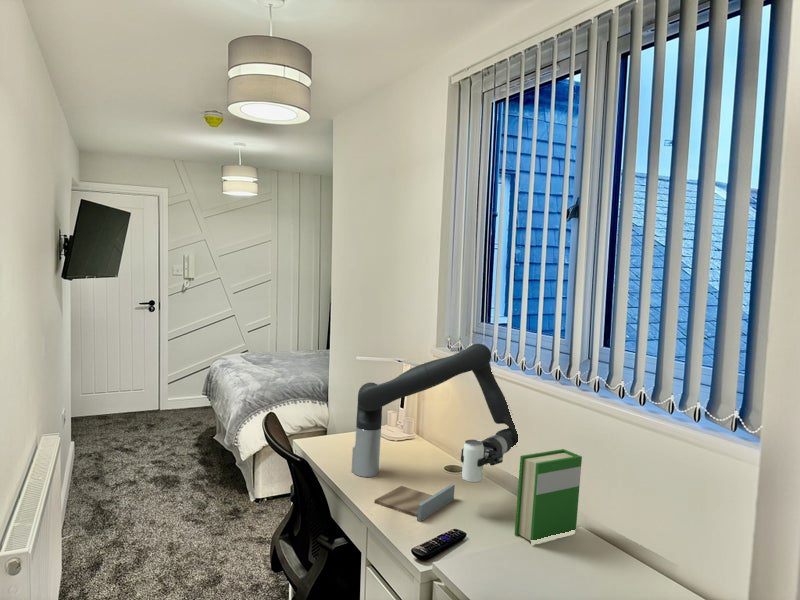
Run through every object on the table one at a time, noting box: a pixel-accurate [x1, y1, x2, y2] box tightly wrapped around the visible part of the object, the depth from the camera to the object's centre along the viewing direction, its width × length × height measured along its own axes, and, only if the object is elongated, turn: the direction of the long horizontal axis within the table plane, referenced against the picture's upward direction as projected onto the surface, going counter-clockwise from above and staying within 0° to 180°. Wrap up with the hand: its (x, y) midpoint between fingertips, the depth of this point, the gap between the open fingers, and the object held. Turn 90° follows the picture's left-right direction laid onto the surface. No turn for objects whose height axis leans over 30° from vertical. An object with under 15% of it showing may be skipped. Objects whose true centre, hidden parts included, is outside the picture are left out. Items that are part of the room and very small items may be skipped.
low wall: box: [416, 483, 456, 522], centre depth 187 cm, size 1×22×5 cm, turn 147°
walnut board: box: [374, 485, 434, 518], centre depth 192 cm, size 16×16×1 cm
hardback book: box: [514, 448, 583, 541], centre depth 173 cm, size 18×7×24 cm, turn 121°
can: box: [461, 439, 484, 484], centre depth 185 cm, size 6×6×12 cm
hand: (470, 461), depth 183 cm, fingers closed on can, 5 cm apart
